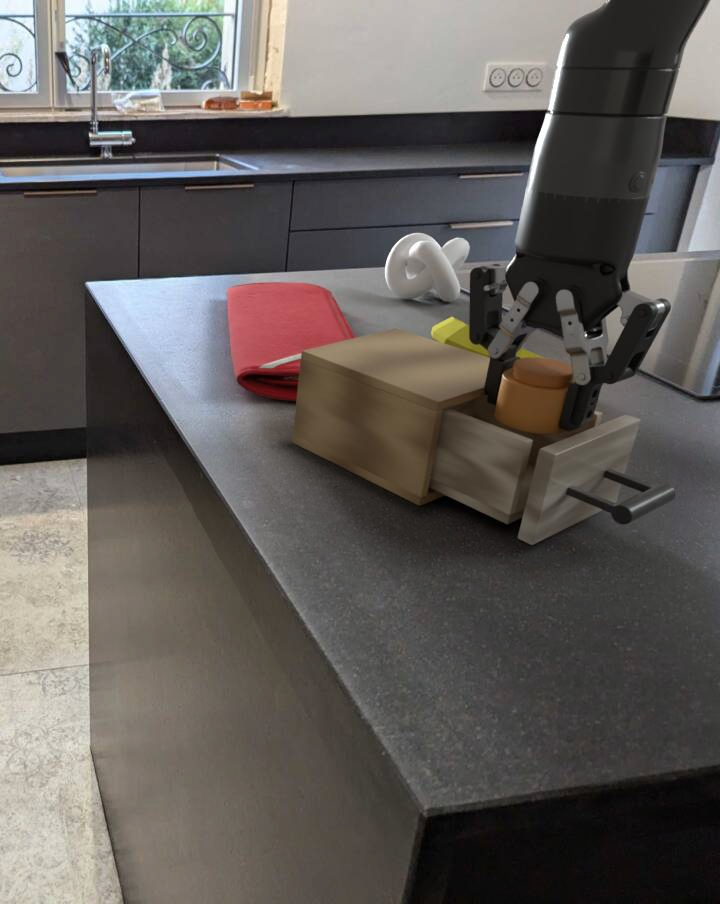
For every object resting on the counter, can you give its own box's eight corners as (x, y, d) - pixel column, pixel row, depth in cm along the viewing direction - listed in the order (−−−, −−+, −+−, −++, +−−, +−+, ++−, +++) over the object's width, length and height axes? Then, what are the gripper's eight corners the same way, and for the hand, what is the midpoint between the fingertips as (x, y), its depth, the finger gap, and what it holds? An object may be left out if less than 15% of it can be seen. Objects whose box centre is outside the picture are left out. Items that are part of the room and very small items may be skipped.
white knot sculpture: (419, 283, 133) (428, 226, 129) (485, 299, 124) (497, 239, 120) (372, 293, 127) (380, 234, 124) (438, 310, 118) (449, 248, 115)
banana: (547, 357, 87) (607, 352, 96) (409, 311, 99) (474, 309, 108) (531, 398, 89) (592, 388, 98) (398, 347, 101) (463, 343, 110)
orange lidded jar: (520, 402, 67) (532, 350, 65) (585, 424, 63) (600, 369, 61) (479, 416, 64) (490, 362, 62) (544, 440, 60) (558, 383, 58)
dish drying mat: (332, 302, 122) (335, 277, 120) (384, 408, 85) (389, 374, 84) (225, 299, 123) (226, 275, 122) (231, 402, 87) (233, 368, 85)
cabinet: (512, 468, 73) (535, 371, 69) (419, 506, 66) (438, 401, 63) (382, 414, 84) (395, 328, 80) (291, 442, 77) (301, 350, 74)
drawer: (679, 529, 62) (709, 441, 58) (595, 576, 56) (624, 481, 53) (468, 443, 75) (483, 368, 72) (384, 474, 70) (397, 394, 66)
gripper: (730, 194, 52) (654, 436, 60) (523, 170, 63) (480, 378, 70) (671, 204, 49) (598, 461, 56) (461, 177, 59) (423, 395, 67)
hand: (532, 414), depth 63 cm, fingers closed on orange lidded jar, 5 cm apart
